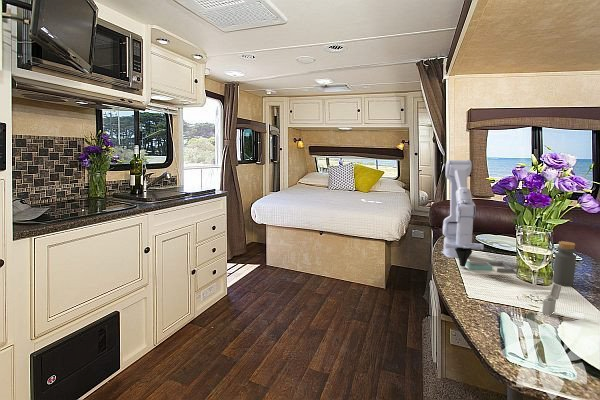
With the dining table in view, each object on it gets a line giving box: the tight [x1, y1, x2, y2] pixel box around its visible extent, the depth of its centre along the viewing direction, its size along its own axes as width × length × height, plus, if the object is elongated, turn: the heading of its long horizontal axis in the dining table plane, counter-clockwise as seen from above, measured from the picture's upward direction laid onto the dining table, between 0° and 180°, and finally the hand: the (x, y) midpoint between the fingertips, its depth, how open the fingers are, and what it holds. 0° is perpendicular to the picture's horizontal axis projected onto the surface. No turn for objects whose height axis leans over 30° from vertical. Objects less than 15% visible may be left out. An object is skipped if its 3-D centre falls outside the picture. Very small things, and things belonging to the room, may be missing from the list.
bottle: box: [552, 240, 577, 287], centre depth 118 cm, size 6×6×15 cm
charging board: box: [465, 258, 518, 276], centre depth 133 cm, size 16×14×2 cm
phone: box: [466, 261, 492, 271], centre depth 133 cm, size 8×5×2 cm, turn 83°
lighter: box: [541, 283, 562, 316], centre depth 97 cm, size 7×2×8 cm, turn 122°
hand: (462, 265), depth 134 cm, fingers closed
